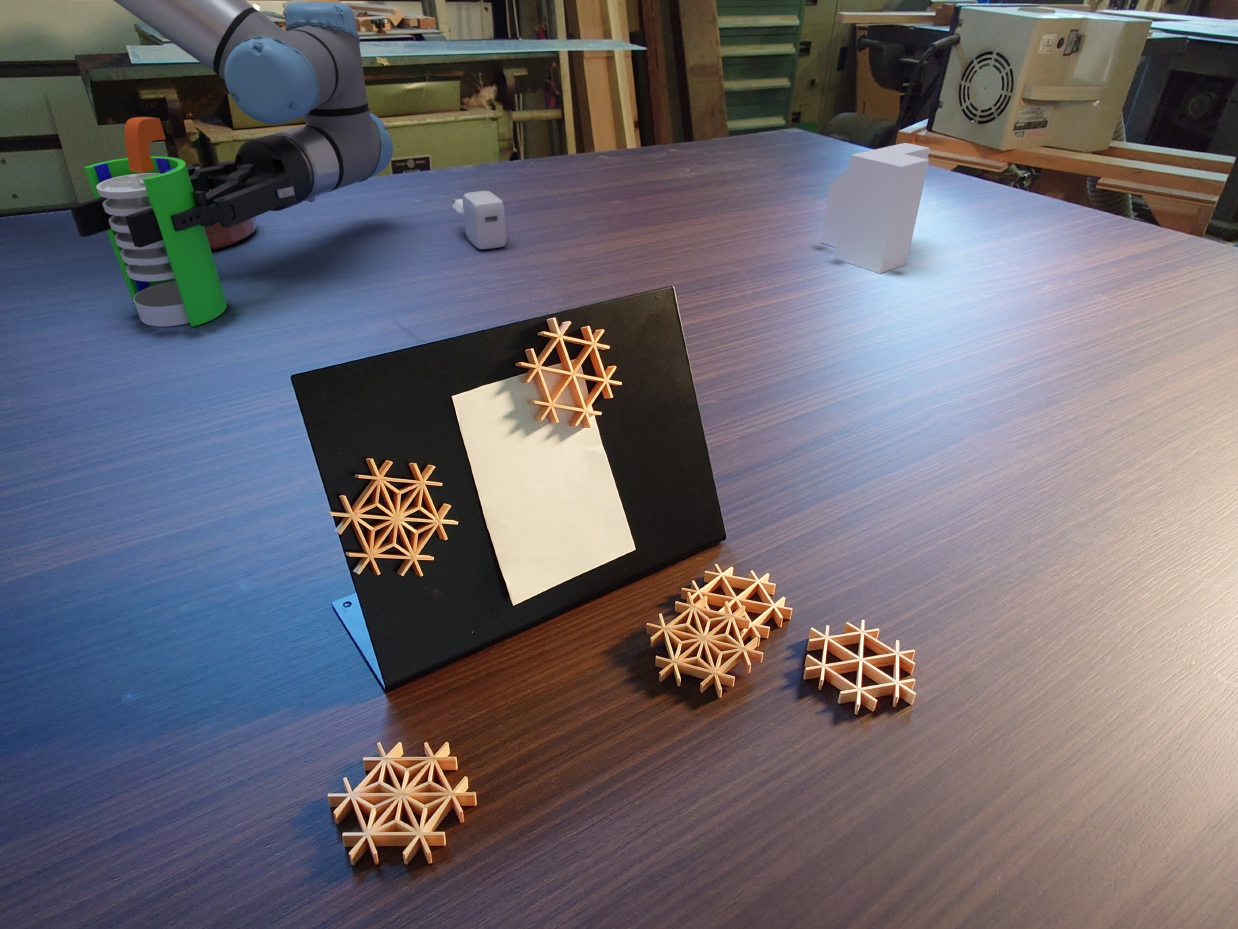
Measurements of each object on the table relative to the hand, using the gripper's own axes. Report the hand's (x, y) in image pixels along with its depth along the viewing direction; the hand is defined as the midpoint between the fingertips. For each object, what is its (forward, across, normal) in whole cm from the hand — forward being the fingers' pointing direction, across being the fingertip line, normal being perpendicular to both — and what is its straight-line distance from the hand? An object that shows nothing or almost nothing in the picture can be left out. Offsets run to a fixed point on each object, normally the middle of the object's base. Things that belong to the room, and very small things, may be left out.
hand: (105, 226), depth 73 cm
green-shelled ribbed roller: (-5, 0, -10) cm, 11 cm away
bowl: (-23, +17, -10) cm, 30 cm away
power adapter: (-38, -15, -10) cm, 42 cm away
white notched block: (-54, -61, -10) cm, 82 cm away
